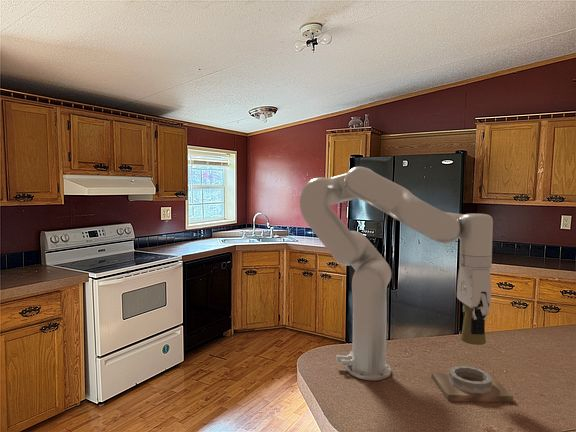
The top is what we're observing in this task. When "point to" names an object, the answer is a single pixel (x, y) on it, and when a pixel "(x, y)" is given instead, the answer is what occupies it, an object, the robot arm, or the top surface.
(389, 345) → the top surface
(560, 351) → the top surface
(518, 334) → the top surface
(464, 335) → the olive green peg
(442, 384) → the socket board
